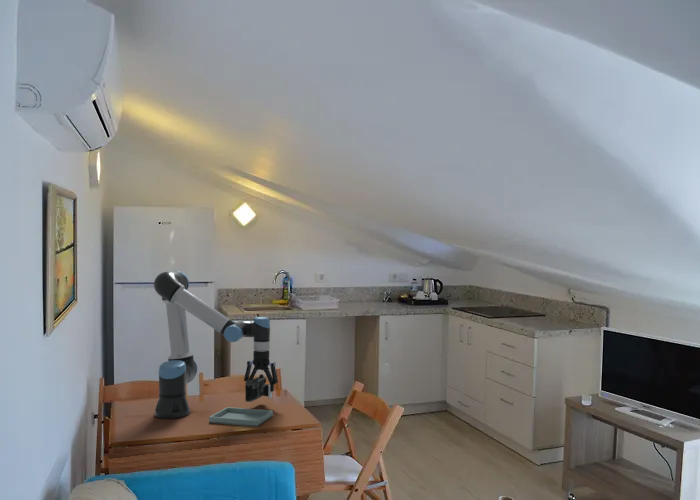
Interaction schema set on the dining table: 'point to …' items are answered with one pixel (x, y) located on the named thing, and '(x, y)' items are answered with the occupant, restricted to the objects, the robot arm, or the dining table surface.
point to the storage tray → (241, 416)
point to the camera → (256, 388)
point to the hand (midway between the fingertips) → (260, 397)
